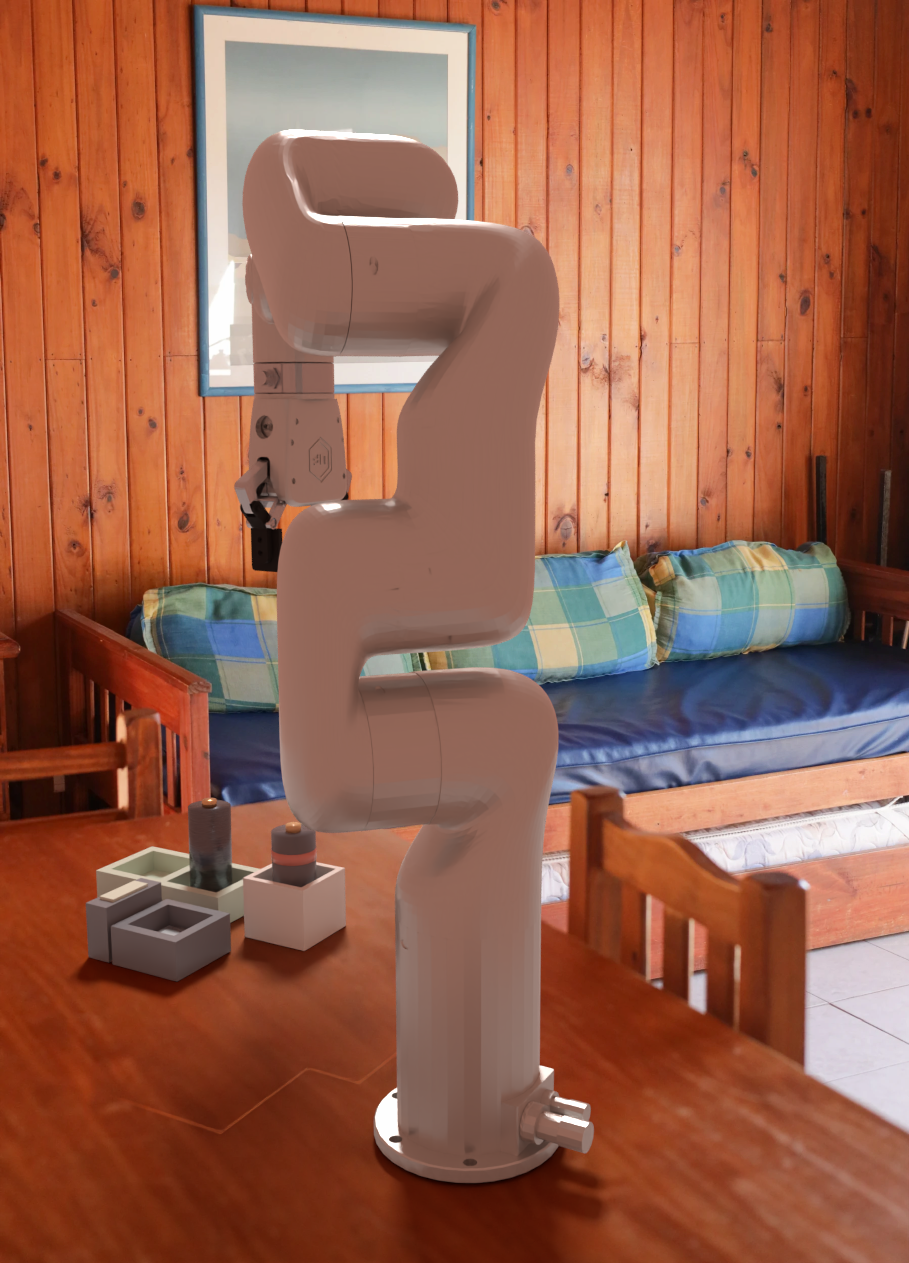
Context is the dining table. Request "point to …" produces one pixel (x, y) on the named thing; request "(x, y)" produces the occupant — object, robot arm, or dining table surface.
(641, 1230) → the dining table surface
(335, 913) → the cup
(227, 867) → the cell
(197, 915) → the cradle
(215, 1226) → the dining table surface
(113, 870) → the tray
